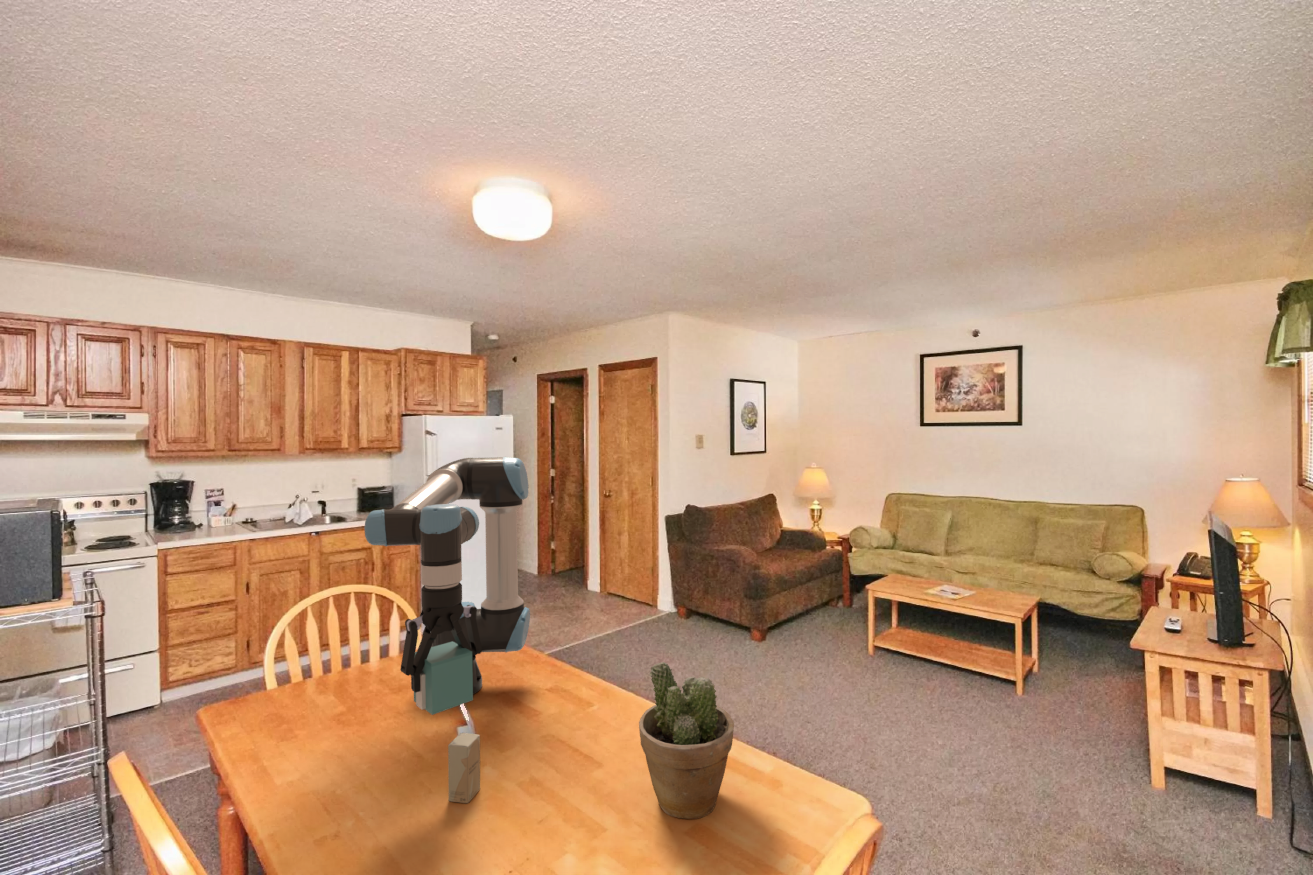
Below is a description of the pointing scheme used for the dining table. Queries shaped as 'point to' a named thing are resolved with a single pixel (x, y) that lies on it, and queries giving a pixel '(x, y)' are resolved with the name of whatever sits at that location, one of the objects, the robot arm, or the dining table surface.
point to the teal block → (447, 677)
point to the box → (464, 767)
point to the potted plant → (685, 744)
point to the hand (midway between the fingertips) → (443, 698)
